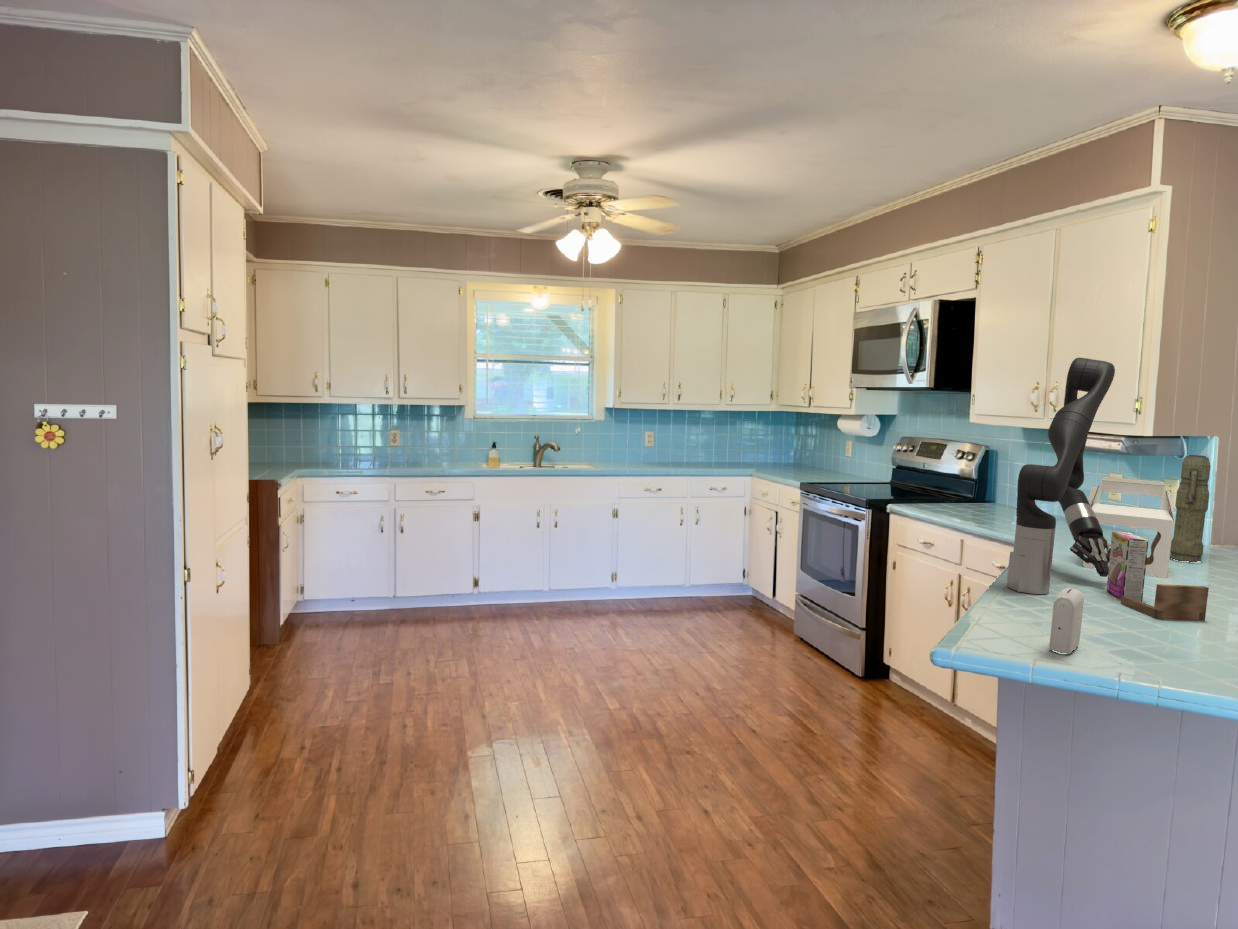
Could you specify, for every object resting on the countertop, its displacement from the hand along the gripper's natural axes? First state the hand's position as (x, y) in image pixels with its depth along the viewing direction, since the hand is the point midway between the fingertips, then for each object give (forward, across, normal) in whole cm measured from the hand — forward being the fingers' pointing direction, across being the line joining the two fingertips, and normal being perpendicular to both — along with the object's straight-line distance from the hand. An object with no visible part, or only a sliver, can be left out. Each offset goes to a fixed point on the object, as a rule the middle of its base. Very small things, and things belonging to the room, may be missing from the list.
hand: (1105, 575), depth 220 cm
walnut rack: (+19, 0, -13) cm, 23 cm away
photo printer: (+42, -44, -36) cm, 70 cm away
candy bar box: (+9, 0, -3) cm, 9 cm away
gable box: (-18, +25, +23) cm, 38 cm away
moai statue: (-30, +58, +36) cm, 74 cm away
